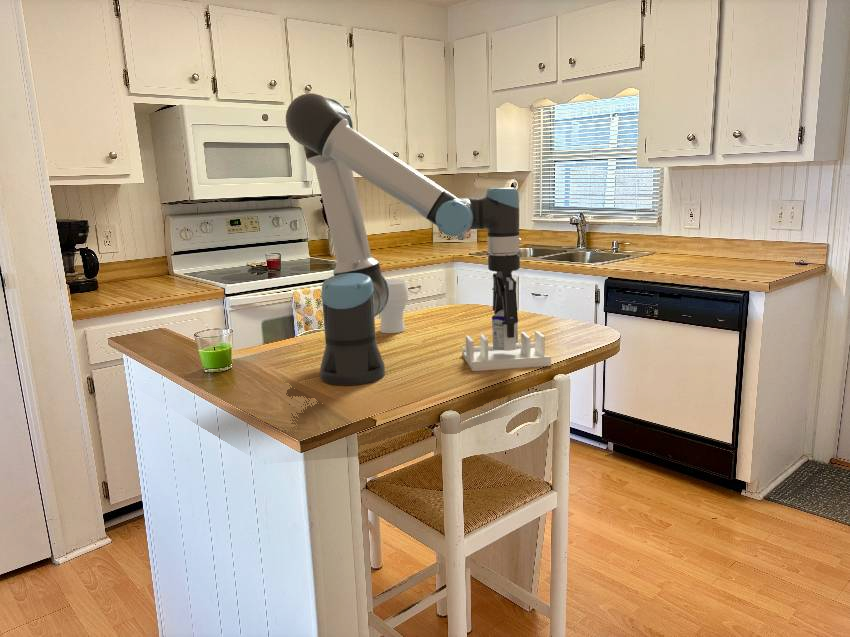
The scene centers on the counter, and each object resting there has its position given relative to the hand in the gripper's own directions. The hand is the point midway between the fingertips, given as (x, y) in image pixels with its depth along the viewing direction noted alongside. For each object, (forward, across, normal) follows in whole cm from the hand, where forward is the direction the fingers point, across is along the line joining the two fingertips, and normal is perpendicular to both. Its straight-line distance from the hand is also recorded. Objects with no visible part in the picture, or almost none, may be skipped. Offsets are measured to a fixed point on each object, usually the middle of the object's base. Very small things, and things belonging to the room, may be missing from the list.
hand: (505, 345), depth 157 cm
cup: (+4, +39, +26) cm, 47 cm away
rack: (+4, 0, 0) cm, 4 cm away
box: (+1, 0, 0) cm, 1 cm away
